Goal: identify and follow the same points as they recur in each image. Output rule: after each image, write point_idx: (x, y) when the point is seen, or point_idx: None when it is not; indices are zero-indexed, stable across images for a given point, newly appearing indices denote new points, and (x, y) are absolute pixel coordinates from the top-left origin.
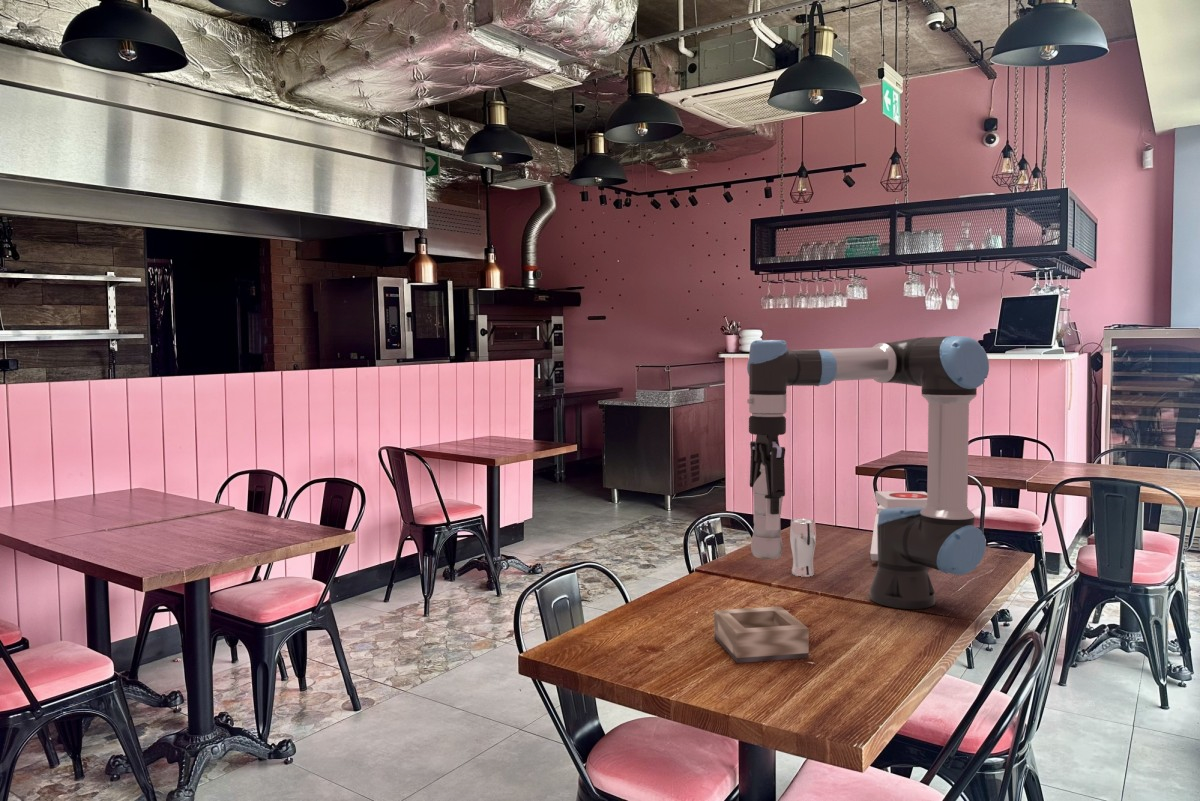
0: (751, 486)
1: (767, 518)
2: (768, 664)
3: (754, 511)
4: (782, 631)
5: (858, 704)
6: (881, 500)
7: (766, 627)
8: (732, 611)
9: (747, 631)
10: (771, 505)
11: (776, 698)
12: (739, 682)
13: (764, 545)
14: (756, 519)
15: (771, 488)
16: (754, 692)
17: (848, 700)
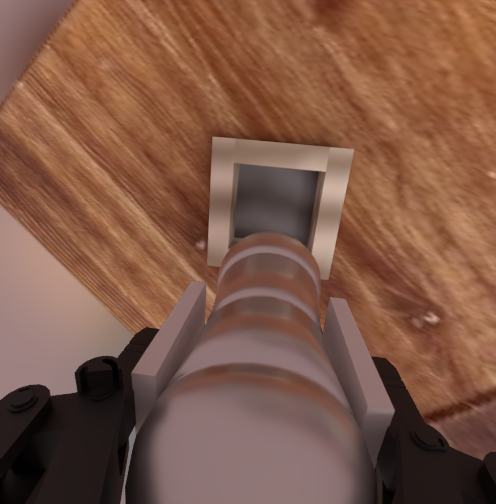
0: (484, 458)
1: (177, 306)
2: (207, 184)
3: (345, 326)
4: (209, 221)
5: (68, 228)
6: None
7: (228, 203)
8: (333, 182)
9: (216, 160)
10: (133, 356)
11: (92, 138)
12: (150, 109)
13: (226, 259)
14: (259, 285)
15: (11, 438)
16: (114, 116)
17: (80, 224)
